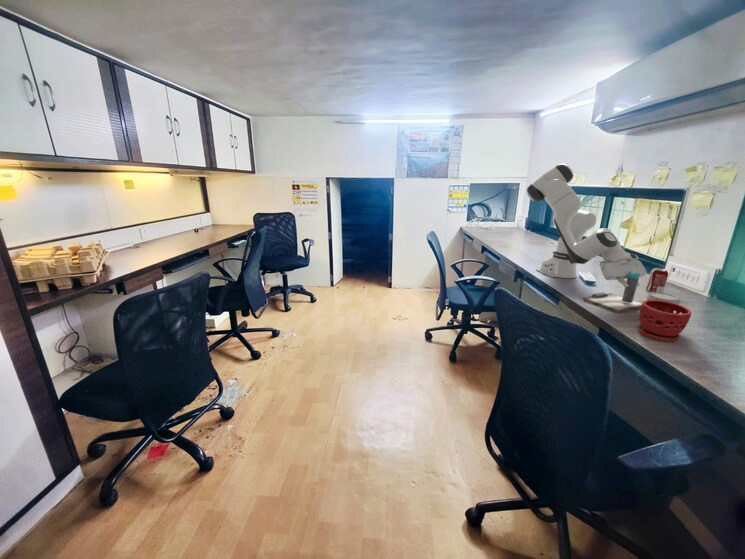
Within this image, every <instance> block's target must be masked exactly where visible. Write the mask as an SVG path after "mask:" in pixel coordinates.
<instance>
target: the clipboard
mask: <svg viewBox="0 0 745 559" xmlns="http://www.w3.org/2000/svg"><path fill="white" fill-rule="evenodd" d="M622 298H623V296H620V295H617V294H614V293H606V292H599V293H598V292H597V293H592V295H591V296H588V297H582V301H583V300H584V301H583V302H586V301H587V302H586V303H588V302H589V303H588V304H591V303H592V305H594V306H597V307H599V306H600V308H602V309H605V310H608V311H610V310H611V312H613V311H614V312H613V313H616V314H620V313H625V312H630V311H634V309H635V310H640V309H641V306H642V303H643V302H639V301H636V300H634V299H633V302H632V303H629V302H624V301H622ZM639 308H640V309H639ZM629 310H630V311H629ZM624 311H625V312H624ZM619 312H620V313H619Z"/></svg>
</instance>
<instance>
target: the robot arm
mask: <svg viewBox="0 0 745 559" xmlns="http://www.w3.org/2000/svg"><path fill="white" fill-rule="evenodd" d="M573 179H574V173H573V169H572V168H571V167H570V166H569V165H567V164H565V163H560V164H557V165H556V166H555V167H553V168H552V169H549V170H548V171H547V172H545V173H543V174H542V175H541V176H540V177H538V178H537V179H536V180H535V181H534V182H533V183H531V184H529V185H528V187H527V188H526V192H527V196H528V198H529V199H530V200H531V201H533V202H535V203H539V202H543V201H545V202H546V203H547V205H548V206H549V207H550V209H551V211H552V212H553V215H552V218H551V219H552V223H553V224H554V225H555V228H556V230H557V233H558V234H559V238H558V241H557V246H556V250H555V251H552V252H551V254H553V255H552V256H551V257H549V258H547V259H545V260H543V261H542V263H541V265H540V267H537V268H536V271H537V272H539V273H541V274H543V275H547V276H549V277H552V278H554V277H555V278H561V279H562V278H563V279H575V278H577V277H578V276H577V264H579V265H584V264H586V263H587V262H589V261H592V259H594V258H596V257H598V256H600V255H601V258H602V260H600V262H599V266H600V272H601V273H602V275H603V278H604V279H605V280H606V281H611V280H612V281H614V280H617V282H619V283H620V284H621V285H622V286H623V288H624V289H625V288H626V287H629V286H630V284H629V282H627V278H628V273H629V272H630V271H632V272H638V273H640V277H639V278H642V277H644V276H646V275H647V269H646V268H645V266H644V265H643V263H642V262H641V260H639V256H638V255H637V254H633V253H630V252H628V251H627V252H626V249H624V248H623V247H622V246H621V243H620V240H619V239H618V238H617V236H616V235H615V234H614V233H613V231H612V230H611V229H609V228H608V227H607V228H606V227H603V228H602V227H601V228H599V229H597V230H595V231H594V232H593V233H592V234H590V235H589V236H587V237H585V238H584V239H583V237H584V236H585V234H586V233H587V232H588V231H589V230H591V229H593V228H594V227H595V225H596V224H597V216H596V214H595V213H593V212H591V211H588V210H583V209H580V207H581V200H580V197H579V196H578V194H577V193H576V192H575V190H573V188H572V187H571V186H570V185H568V184H569V183H570V182H571V181H572V180H573ZM639 286H640V282H639V281H638V283H637V287H639Z"/></svg>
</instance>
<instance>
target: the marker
mask: <svg viewBox="0 0 745 559" xmlns="http://www.w3.org/2000/svg"><path fill="white" fill-rule="evenodd" d="M640 278H641V277H640V273H638V272H632V271H630V272H629V273H628V278H627V279H626V282H629V284H630V286H629V287H626V288H625V287H624V290H623V294H622V297H623V298H622V301H624V302H629V303H632V302H633V300H634V298H635V294H636V291H637V287H638V286H637V283H638V282H639V279H640Z"/></svg>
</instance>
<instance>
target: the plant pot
mask: <svg viewBox="0 0 745 559" xmlns="http://www.w3.org/2000/svg"><path fill="white" fill-rule="evenodd" d="M641 303H642V306H641V308H640V309H639V323H640V324H638V325H637V327H636V328H637V330H638V332H639V333H640V334H642V336H645V337H647V338H649V339H652V340H656V341H661V342H667V343H668V342H675V341H678V340H679V339H680V335H679V334H681V333H682V332H683V331H684V329H685V328H686V327H687V326H688V323H689V321H690V319H691V316H692V311H691V310H690V308H688V307H686V306H684V305H680V304H679V303H678V304H675V303H671V302H667V301H661V300H647V299H646V300H644V301H643V302H641ZM654 306H656V308H655V309H654V308H653V307H654ZM666 308H667V309H669V310H670V311H669V312H666V311H665V309H666Z"/></svg>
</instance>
